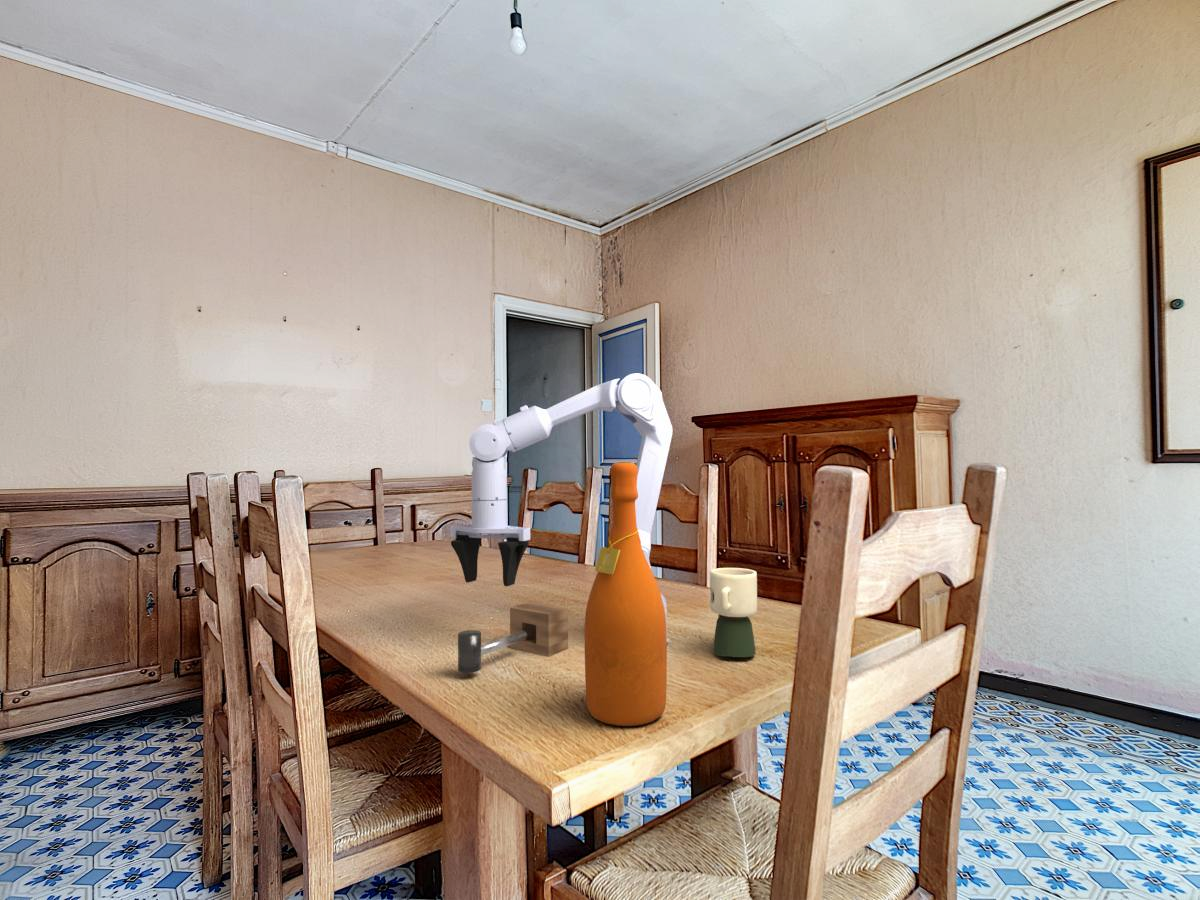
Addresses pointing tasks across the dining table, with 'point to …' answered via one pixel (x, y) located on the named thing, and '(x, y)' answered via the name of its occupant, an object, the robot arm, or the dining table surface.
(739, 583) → the character mug
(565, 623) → the eye block
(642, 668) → the wine bottle
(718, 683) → the dining table surface
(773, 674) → the dining table surface
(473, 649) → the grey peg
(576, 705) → the dining table surface
